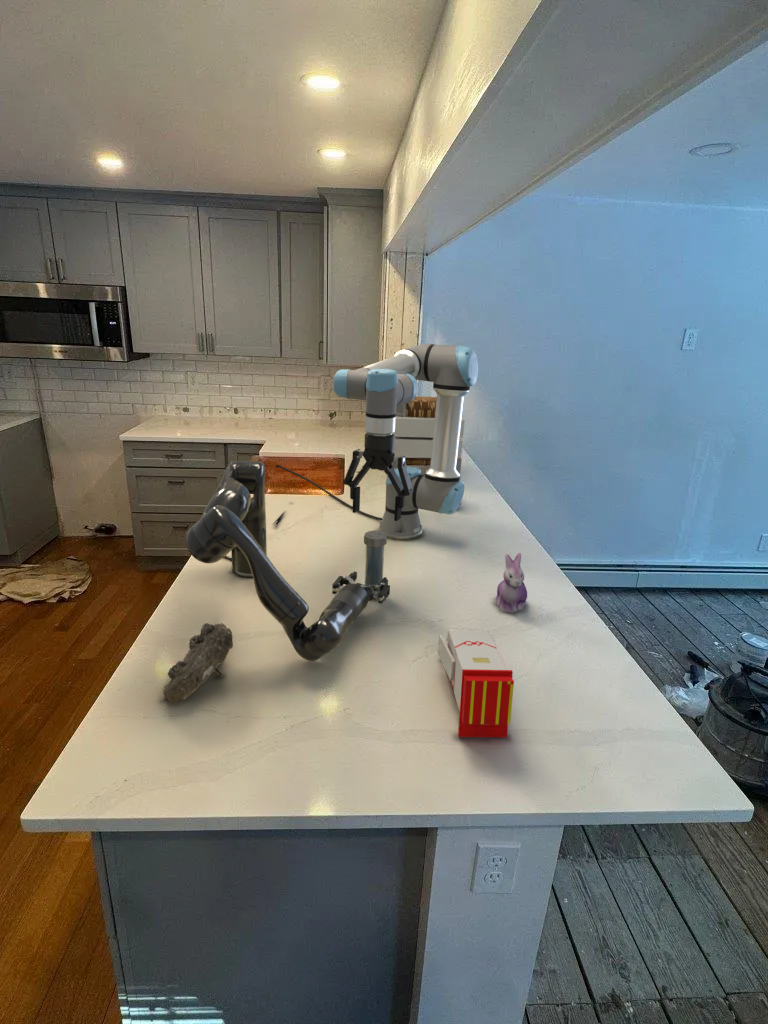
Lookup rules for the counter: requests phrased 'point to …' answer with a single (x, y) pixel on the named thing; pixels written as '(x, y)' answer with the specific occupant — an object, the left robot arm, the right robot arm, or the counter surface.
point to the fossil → (199, 661)
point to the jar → (374, 565)
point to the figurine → (512, 586)
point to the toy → (478, 682)
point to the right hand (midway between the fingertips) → (376, 515)
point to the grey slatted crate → (418, 432)
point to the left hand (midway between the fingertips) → (370, 577)
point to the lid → (375, 538)
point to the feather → (278, 519)
